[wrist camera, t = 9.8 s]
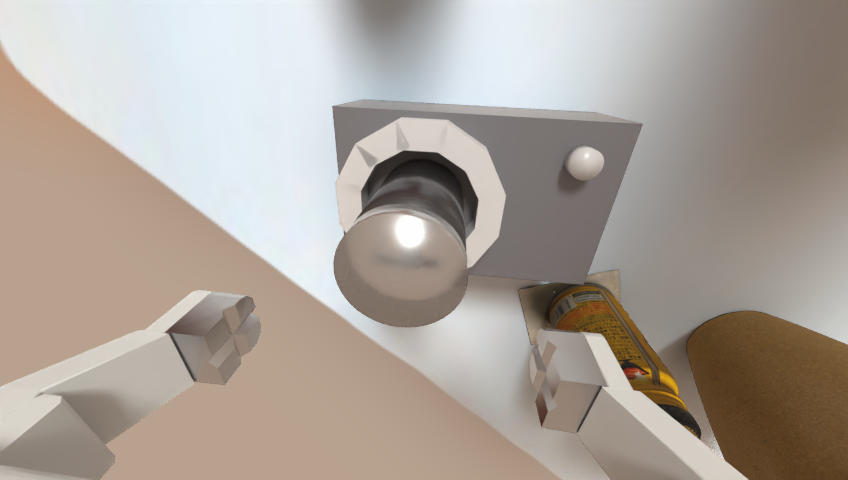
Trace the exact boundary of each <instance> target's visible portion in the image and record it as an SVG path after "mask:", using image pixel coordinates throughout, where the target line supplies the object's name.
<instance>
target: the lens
mask: <svg viewBox="0 0 848 480" xmlns="http://www.w3.org/2000/svg"><path fill="white" fill-rule="evenodd" d="M334 274H335V279H336V282H337V284H338V287H339V288H340V290H341V292H342V294H343V295H344V297H345V298H346V299H347V300H348V302H349V303H350V304H351V305H352V306H353V307H354V308H356V309H357V310H358V311H359V312H361V313H362V314H364V315H365V316H367V317H369V318H371V319H373V320H375V321H377V322H380V323H383V324H387V325H391V326H397V327H418V326H424V325H428V324H431V323H434V322H436V321H438V320H440V319H442V318H444V317H445V316H447V315H448V314H450V313H451V312H452V311H453V310H454V309H455V308H456V307H457V306H458V304H459V303H460V301H461V300H462V298H463V296H464V293H465V291H466V287H467V280H468V271H467V253H466V235H465V217H464V199H463V191H462V188H461V185H460V183H459V181H458V179H457V178H456V176H455V175H454V174H453V173H452V172H451V171H450V170H449V169H448V168H447V167H445V166H444V165H442V164H440V163H438V162H436V161H432V160H428V159H413V160H409V161H406V162H404V163H401V164H400V165H398V166H397V167H395V168H394V169H393V170H392V171H391V172H390V173H389V174H388V176H387V177H386V179H385V180H384V181H383V183H382V184H381V185H380V187H379V188H378V190H377V191H376V192H375V194H374V195H373V197H372V198H371V199H370V201H369V202H368V203H367V205H366V206H365V208H364V209H363V210H362V212H361V213H360V215H359V216H358V217H357V219H356V220H355V221H354V223H353V224H352V226H351V227H350V228H349V230H348V231H347V233H346V234H345V235H344V237H343V238H342V240H341V241H340V243H339V245H338V247H337V249H336V252H335V256H334Z"/></svg>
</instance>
